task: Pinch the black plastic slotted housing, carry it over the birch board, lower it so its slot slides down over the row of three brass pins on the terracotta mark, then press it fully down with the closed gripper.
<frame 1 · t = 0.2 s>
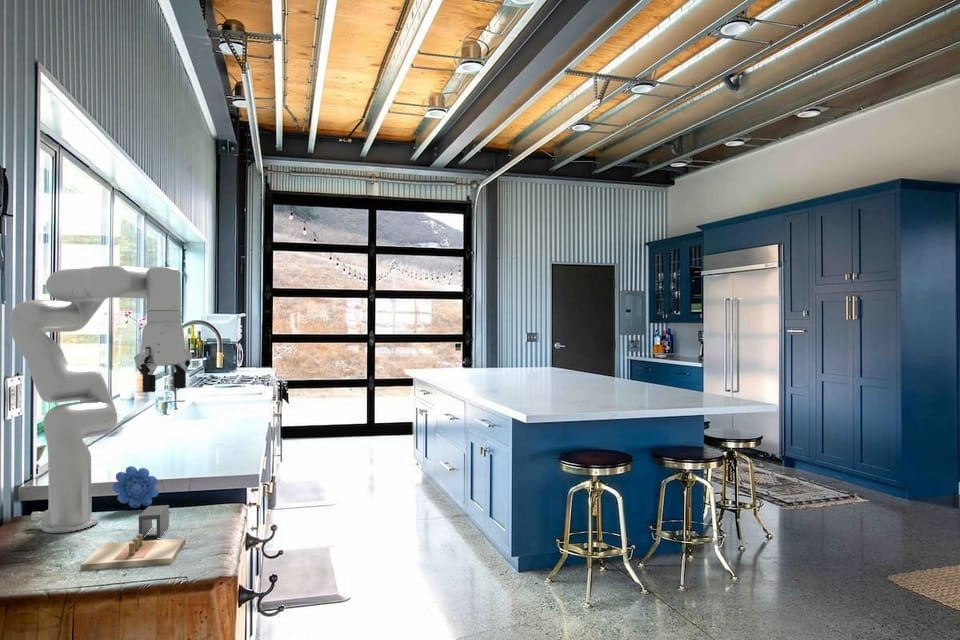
hand: (164, 389, 164), 36 cm above the worktop, tool pointing down, fingers open, 9 cm apart
pin board: (135, 555, 154), on the worktop
blue flower: (136, 509, 193), on the worktop
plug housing: (154, 534, 170), on the worktop
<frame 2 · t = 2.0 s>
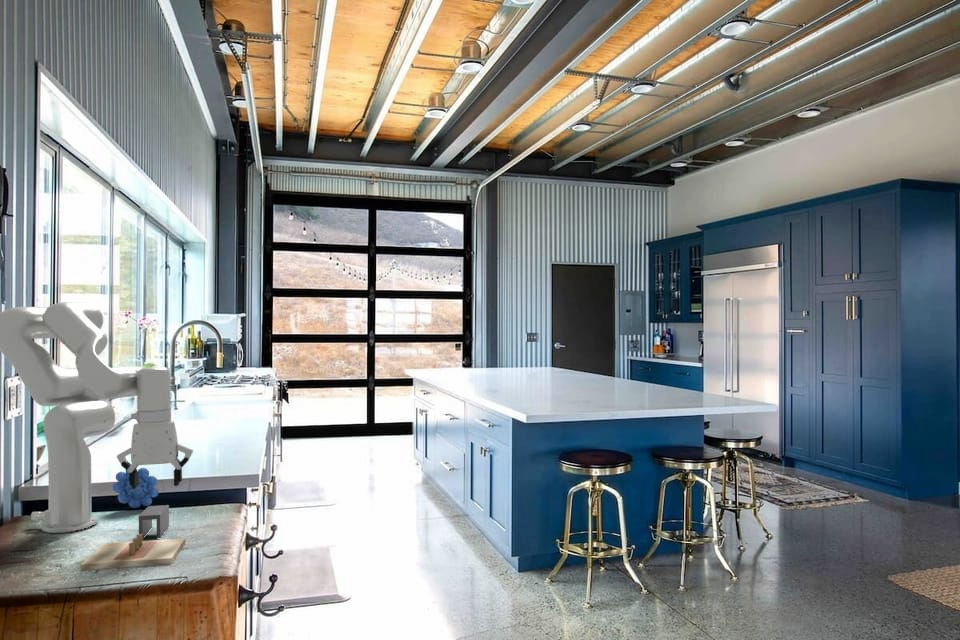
hand: (156, 486, 169), 12 cm above the worktop, tool pointing down, fingers open, 9 cm apart
nothing on the worktop moved.
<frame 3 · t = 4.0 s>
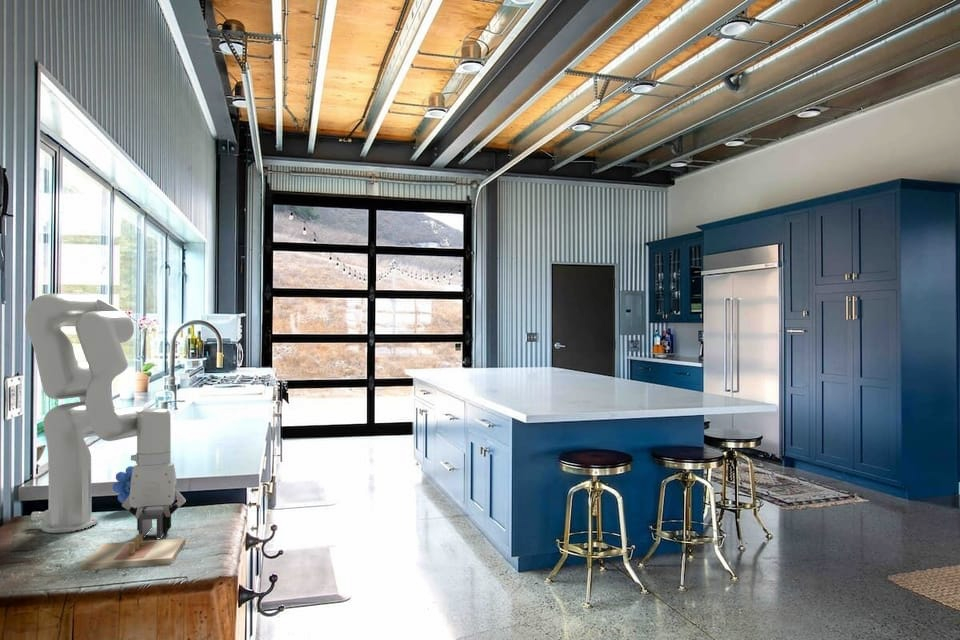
hand: (154, 531, 170), 1 cm above the worktop, tool pointing down, fingers closed on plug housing, 4 cm apart
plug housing: (154, 534, 170), on the worktop, touching gripper
everything else where it was.
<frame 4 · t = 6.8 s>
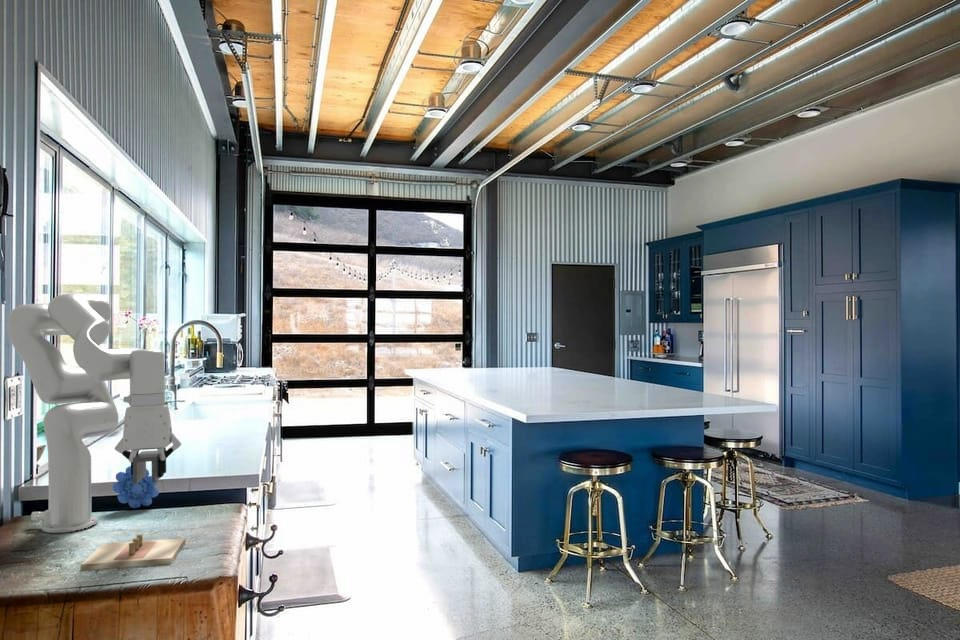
hand: (148, 476, 164), 16 cm above the worktop, tool pointing down, fingers closed on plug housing, 4 cm apart
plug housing: (148, 479, 164), point 15 cm above the worktop, touching gripper
everything else where it was.
when the fingers open (3 cm above the worktop, at t = 9.8 s): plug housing stays where it is, resting on pin board.
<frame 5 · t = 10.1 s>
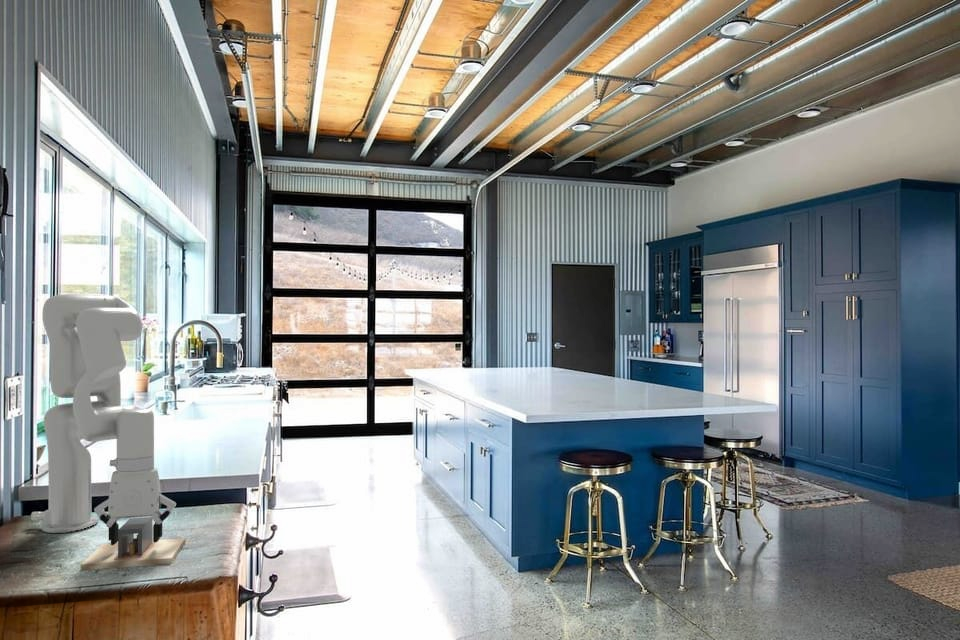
hand: (135, 541, 154), 3 cm above the worktop, tool pointing down, fingers open, 8 cm apart
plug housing: (135, 550, 154), point 1 cm above the worktop, touching pin board
everything else where it was.
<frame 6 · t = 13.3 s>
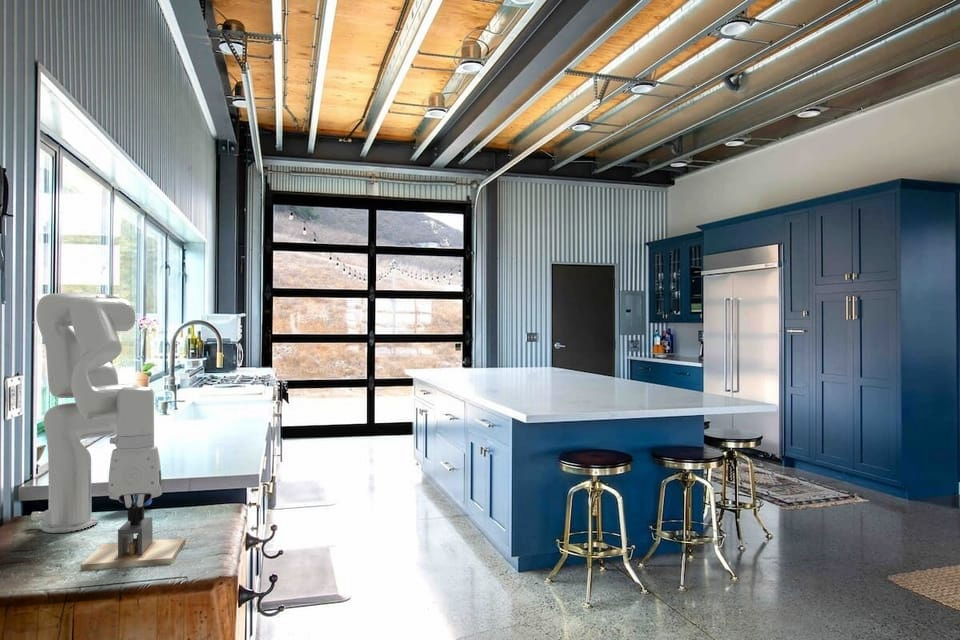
hand: (136, 523, 154), 7 cm above the worktop, tool pointing down, fingers closed
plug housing: (135, 550, 154), point 1 cm above the worktop, touching gripper, pin board
everything else where it was.
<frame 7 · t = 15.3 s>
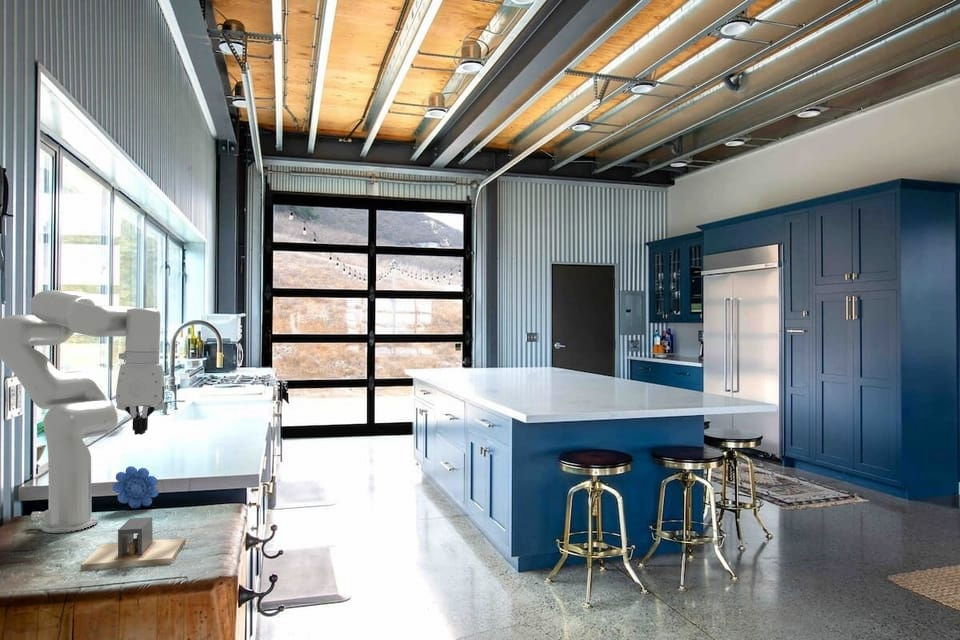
hand: (139, 433, 167), 25 cm above the worktop, tool pointing down, fingers closed
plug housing: (135, 550, 154), point 1 cm above the worktop, touching pin board
everything else where it was.
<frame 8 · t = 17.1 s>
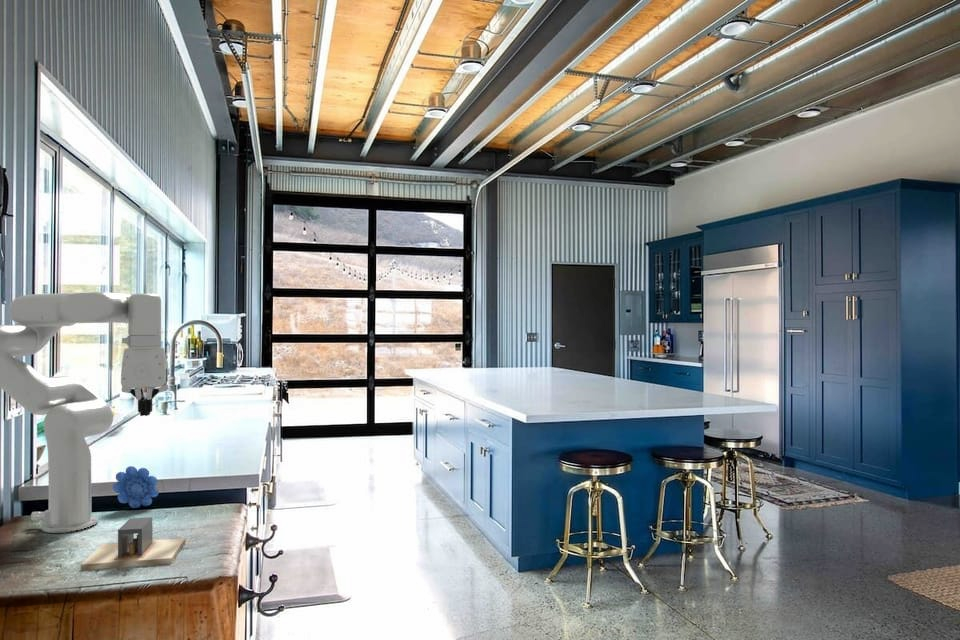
hand: (145, 415, 173), 29 cm above the worktop, tool pointing down, fingers closed
nothing on the worktop moved.
at the end: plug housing 0.0 cm off-centre on the pin board, point 1.3 cm above the pin board's base; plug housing tilted 0°; the gripper is holding nothing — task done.
